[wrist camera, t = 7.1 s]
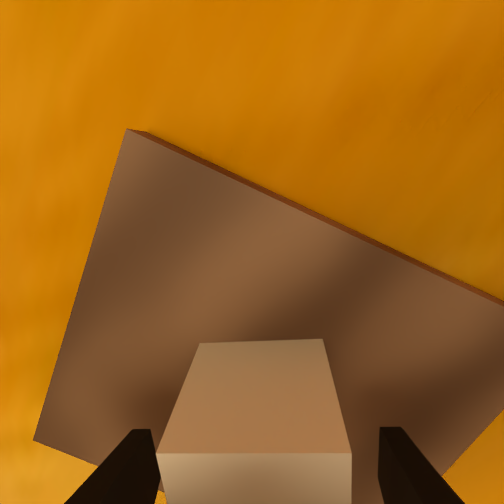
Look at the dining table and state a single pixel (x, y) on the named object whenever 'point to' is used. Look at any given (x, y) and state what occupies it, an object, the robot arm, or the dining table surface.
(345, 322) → the walnut board
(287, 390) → the cube
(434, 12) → the dining table surface
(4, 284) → the dining table surface
